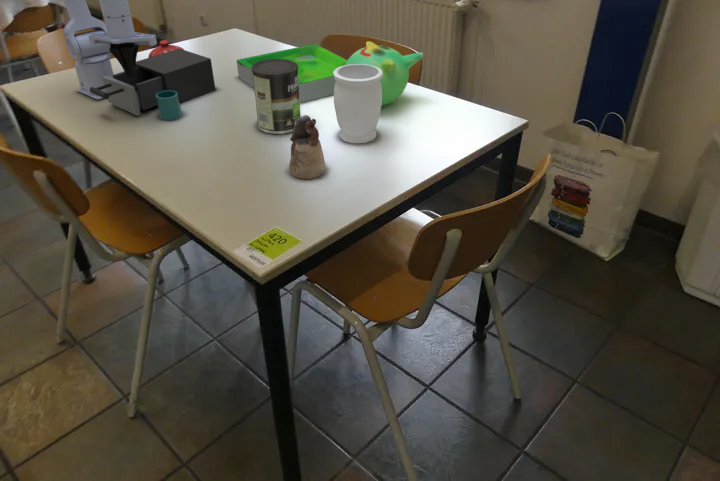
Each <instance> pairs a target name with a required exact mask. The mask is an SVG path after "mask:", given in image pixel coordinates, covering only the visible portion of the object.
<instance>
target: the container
mask: <svg viewBox="0 0 720 481" xmlns="http://www.w3.org/2000/svg"><path fill="white" fill-rule="evenodd" d="M156 101H157V105H156V106H157V110H158V116H159V118H160V119H161V120H163V121H174V120H178V119H179V118H181V117H182V109H181V103H179V98H178V93H177V92H176V91H172V90H166V91H161V92H158V93H157V94H156Z"/></svg>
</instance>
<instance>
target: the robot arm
mask: <svg viewBox="0 0 720 481" xmlns="http://www.w3.org/2000/svg"><path fill="white" fill-rule="evenodd" d="M62 1H63V4H64V6H65V9H66V12H67V14H68V15H69V19H70V20H69V21H68V22H67V24H66V26H65V27H64V28H63V31H62V32H63V36H64V40H65V46H66V49H67V52H68V53H69V56H71V58H72V59H73V60H75V62H74V68H75V72H76V75H77V79H78V83H79V86H80V88H79V89H78V90H77V91H78V92H79V93H81V94H83V95H85V96H88V97H90V98H92V99H95V100H97V101H100V100H102V99H103V98H102V97H100V96H98V95H95V94H93V93H91V92H90V88H91V87H94V88H97V87H100V86H103V85H104V83H103V79H102V76H105V75H107V76H109V77H112V78H113V76H112V75H114V74H115V73H114V71H113V67H112V62H111V58H113V57H114V58H115V59H116V61H117V62H118V63H119V65H120V66H121V68H122V70H123V72H125V73H126V76H127V77H133V76H135V75H136V61H137V57H138V53H139V52H138V51H139V49H140V45H141V46H142V45H145V46H150V47H155V46H156V45H157V44H158V42H157V41H158V40H157V36H156V34H152V33H150V34H149V33H143V32H136V30H135V27H134V22H133V17H132V14H131V9H130V5H129V4H130V3H129V0H98V2H99V5H100V10H101V14H102V18H103V21H102V20H101V19H98V18H96V17H95V16H92V14H91V11H90V9H89V5H88V3H87V1H86V0H62ZM87 30H89V31H87ZM82 31H83V32H82ZM77 32H78V33H77ZM112 55H113V56H112ZM101 91H103V92H106V90H105V89H102V90H101Z"/></svg>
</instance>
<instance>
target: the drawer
mask: <svg viewBox="0 0 720 481" xmlns="http://www.w3.org/2000/svg"><path fill="white" fill-rule="evenodd" d="M112 76H113V78H112V77H109V76H107V75H105V76H102V79H103V83H104V85H103V86H100V87H97V88H94V87H91V88H90V92H91V93H93V94H95V95H98V96H100V97H102V99H104V100H107V101H108V103H109V104H111V105H113V106H116V107H118V108H120V109H122V110H125V111H127V112H129V113H131V114H134V115H135V116H137V115H139V114H141V110H142V111H145V110H148V109H150V108H152V107H155V106H158V105H157V101H156V94H157V93H158V92H161V91H166V89H165V84H164V79H163V76H161V75H158V74H156V73H153V72H150V71H148V70H145V69H142V68H140V67H137V68H136V75H135V76H133V77H127V76H126V73H125V72H124V71H121V72H117V73H114V75H112ZM102 89H105V90H106V92H103V91H101V90H102Z"/></svg>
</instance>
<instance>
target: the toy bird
mask: <svg viewBox="0 0 720 481" xmlns="http://www.w3.org/2000/svg"><path fill="white" fill-rule="evenodd" d="M423 57H424V53H423V52H414V53H409V54H406V55H402V54H401V53H400V52H399V51H398V50H396V49H394V48H392V47H390V46H386V45H379V44H378V45H377V44H376V43H375V42H373V41H371V40H367V41H366V42H365V47H362V48H360V49H358V50H356V51H355V52H354V53H353V54H351V55H350V56H349V57H348V59H347V62H346V64H345V65H350V64H366V65H372V66H375V67H378V68H379V69H381V70H382V74H383V76H382V78H381V80H380V82H381V88H382V105H381V107H382V106H386V105H388V104H391V103H392V102H394V101H395V100H396V99H398V98H399V97H400V96H401V95H402V94H403V92H404V91H405V89H406V88H407V85H408V82H409V79H410V69H411V67H413V66H414V65H416V63H418V62H419V61H420V60H422V58H423Z"/></svg>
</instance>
